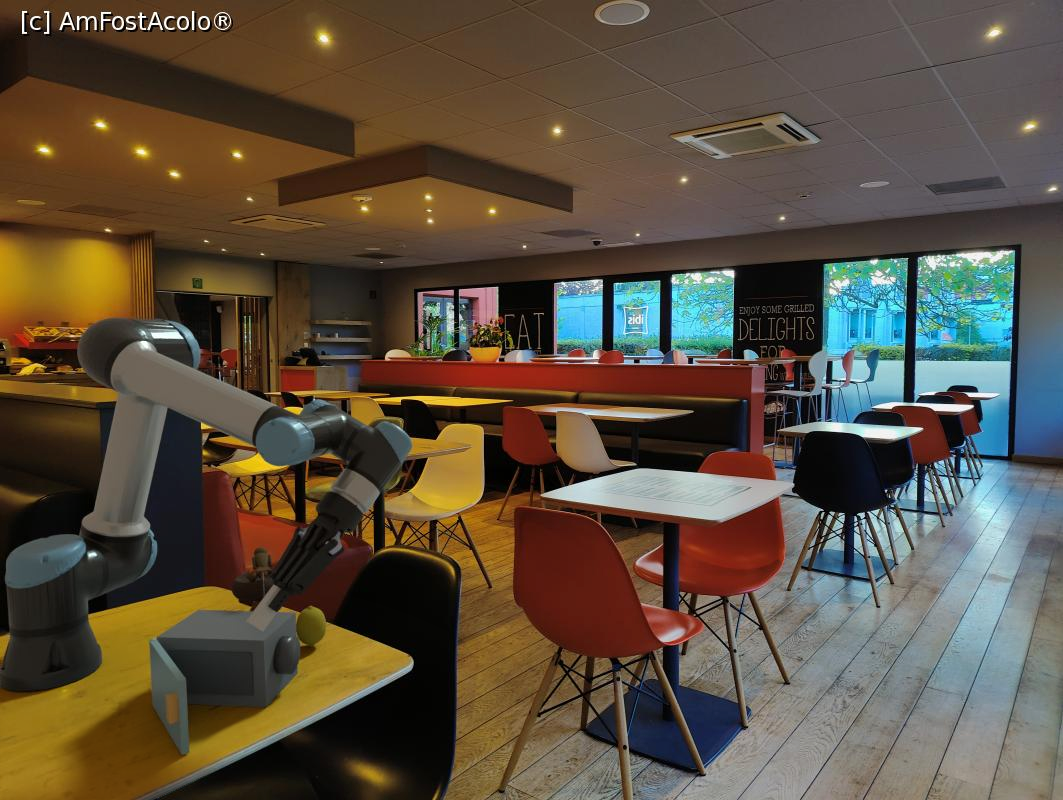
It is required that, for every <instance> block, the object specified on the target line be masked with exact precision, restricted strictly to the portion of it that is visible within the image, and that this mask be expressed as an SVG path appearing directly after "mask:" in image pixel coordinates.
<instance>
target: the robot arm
mask: <svg viewBox="0 0 1063 800" xmlns="http://www.w3.org/2000/svg"><path fill="white" fill-rule="evenodd" d="M76 349H77V358H78V359H77V360H78V362H79V365H80V366H81V369H82V370H83V371H84V372H85V374H86V375H87V376H89V378H91V380H94V381H95V382H97V383H99V384H100V385H103V386H105V387H106V388H108V389H110V390H113V391H115V392H116V393H117V397H116V403H115V407H114V413H113V418H112V421H111V427H110V432H109V437H108V441H107V445H106V446H107V447H106V450H105V451H106V452H105V455H104V461H103V466H102V469H101V474H100V479H99V485H98V488H97V494H96V499H95V503H94V504H95V505H94V508H93V511H92V512H90V513H89V514H87V515H86V516H84V517H83V519H82V520H81V525H80V526H81V527H80V530H79V535H77V534H69V533H67V534H66V533H65V534H63V533H62V534H55V535H51V536H47V537H41V538H37V539H34V540H31V541H28V542H26V543H23V544H22V545H20V546H18V547H16V548H15V549H14V550H12V551H11V552H10V553H9V555H8V557H7V558H6V562H5V569H6V570H5V575H4V582H5V586H6V597H7V610H8V612H7V614H8V626H9V627H8V628H9V629H8V630H9V639H8V642H7V645H6V648H5V652H4V656H3V659H2V664H1V666H0V687H1V688H3V689H4V690H8V691H11V692H32V691H34V692H35V691H41V690H49V689H51V688H56V687H60V686H64V685H67V684H70V683H73V682H76V681H78V680H81V679H83V678H85V677H87V676H89V675H91V674H92V673H94V672H95V671H97V670H98V669H99V668H100V667H101V666H102V664H103V651H102V648H101V646H100V644H99V643H98V640H97V638H96V636H95V633H94V631H93V629H92V626H91V625H90V621H89V620H90V619H89V618H90V617H89V603H88V602H89V601H90V600H93V599H94V598H97V597H100V596H103V595H104V594H105V595H106V594H107V593H109V592H112V591H114V590H116V589H119V588H121V587H126V586H127V585H128V586H129V585H130V584H132V583H134V582H135V581H137V580H139V579H140V578H142V577H143V576H145V575H146V574H147V573H149V571H150V569H151V568H152V567H153V565H154V564H155V562H156V559H157V558H156V557H157V555H158V543H157V540H155V539H154V537H155V535H154V534H155V533H154V532H153V531H152V529H151V523H150V522H149V521H148V519H147V518H146V517H145V512H146V506H147V503H148V498H149V493H150V489H151V484H152V480H153V476H154V470H155V465H156V461H157V457H158V452H159V448H160V443H161V439H162V434H163V431H164V426H165V422H166V417H167V413H168V412H167V411H168V409H170V410H172V411H175V412H177V413H179V414H181V415H183V416H185V417H187V418H190V419H192V420H194V421H197V422H199V423H201V424H203V425H205V426H208V427H209V428H212V429H214V430H216V431H219V432H221V433H224V434H225V435H228V436H230V437H232V438H234V439H237V440H238V441H240V442H243V443H245V444H247V445H249V446H252V447H254V448H256V450H257V453H258V454H259V455H260V457H261V458H262V459H263V461H265V463H266V464H267V463H268V464H269V465H272V466H275V467H285V466H288V467H289V466H296V465H299V464H301V463H302V462H306V461H309V460H312V459H316V458H319V457H322V456H325V455H328V454H330V455H332V456H334V457H335V458H337V459H339V460H341V461H342V462H345V463H346V464H347V465H346V466H345V468H343V470H342V471H341V472H340V474H339V475H338V477H337V478H335V480H334V482H333V483H332V484H331V486H330V490H329V491H326V492H325V494H324V495H323V496H322V497H321V498H320V500H319V502H317V503H316V504H315V505H316V506H315V512H317V516H316V517H315V518H314V519H313V520H312V521H310V523H309V525H308V526H307V527H305V528H303V527H301V526H297V527H296V528H295V530H294V532H293V535H292V537H291V540H290V541H289V543H288V545H287V546H286V547H285V550H284V551H283V553H282V554H281V557H280V558H279V560H278V562H276V563H277V564H276V565H275V566H274V568H273V570H272V571H273V572H272V573H271V575H270V578H272V579H273V582H272V583H273V586H272V587H271V588H270V590H269V591H268V592H267V594H266V595H265V596H264V598H263V599H262V601H261V602H260V603H259V605H258V606H257V607H256V609H255V610H254V611H253V613H252V614H251V615H250V617H249V618H248V619H247V622H248V623H250V624H251V625H253V626H254V627H256V628H257V629H259V630H261V631H262V632H263V631H264V630H265V629H266V627H267V626H268V624H269V623H270V622H271V620H272V619H273V618H274V616H275V615H276V614H277V612H280V610H281V609H282V608H283V606H284V604H285V603H286V602H287V601H288V600H289V598H290V597H291V596H294V595H295V594H297V595H300V596H301V595H303V593H304V592H305V591H307V589H308V588H309V587H310V586H311V585H312V584H313V583H314V581H315V580H316V579H317V578H319V576H320V575H321V574H322V573H323V572H324V570H325V569H326V568H327V567H328V566H330V564H331V563H332V562H333V561H335V559H336V558H337V557H339V556H340V555H342V554H343V553H344V552H345V550H346V547H345V546H344V545H342V543H341V542H342V541H341V540H343V538H344V536H345V533H348V534H351V533H354V531H355V529H356V528H358V525H359V524H360V523H361V521H362V520H363V519H364V513H365V514H366V513H368V511H369V510H370V508H371V507H372V506H373V505H375V501H376V500H377V498H378V497H379V495H381V493H382V492H383V490H384V489H385V488H386V487H387V485H389V482H390V481H391V479H392V478H393V477H394V475H396V473H397V472H398V470H399V469H400V468H401V467H402V466H403V463H404V462H405V461H406V459H407V457H408V455H409V454H410V452H411V450H412V448H413V441H412V439H411V437H410V436H409V435H408V433H406V431H405V430H403V428H401V427H399V426H398V425H397V424H395V423H393V422H391V423H390V422H389V421H387V420H386V421H381V422H379V423H378V424H377V425H376V426H374V427H371V426H370V425H367V424H365V423H364V422H362V421H360V420H359V419H357V418H355V417H353V416H352V415H350V414H348V413H347V412H345V411H344V410H342V409H340V408H339V407H338V406H337V405H335V404H331V403H329V402H326V401H325V400H323V399H318V398H317V399H313V400H312V401H310V403H307V404H306V405H305V406H304V407H303V408H302V410H301V411H300V413H299V414H298V413H296V412H292V411H291V410H287V409H285V408H283V407H281V406H278V405H276V404H275V403H274V402H273V403H272V402H270V401H268V400H265V399H263V398H262V397H258V396H256V395H255V394H252V393H250V392H247V391H246V390H243V389H240V388H239V387H236V386H233V385H232V384H229V383H227V382H225V381H223V380H221V379H219V378H215V377H213V376H212V375H209V374H206V373H204V372H202V371H200V370H198V369H199V367H200V366H199V365H200V362H201V349H200V346H199V343H198V340H197V339H196V338H195V336H194V334H193V333H192V331H191V330H190V329H189V328H188V327H186V326H185V325H183V324H181V323H179V322H176V321H173V320H166V319H161V318H129V317H128V318H127V317H108V318H104V319H101V320H98V321H96V322H94V323H93V324H91V325H90V326H89V327H87V329H86V330H84V332H83V333H82V335H81V336H80V339H79V340H78V344H77V348H76Z"/></svg>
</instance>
